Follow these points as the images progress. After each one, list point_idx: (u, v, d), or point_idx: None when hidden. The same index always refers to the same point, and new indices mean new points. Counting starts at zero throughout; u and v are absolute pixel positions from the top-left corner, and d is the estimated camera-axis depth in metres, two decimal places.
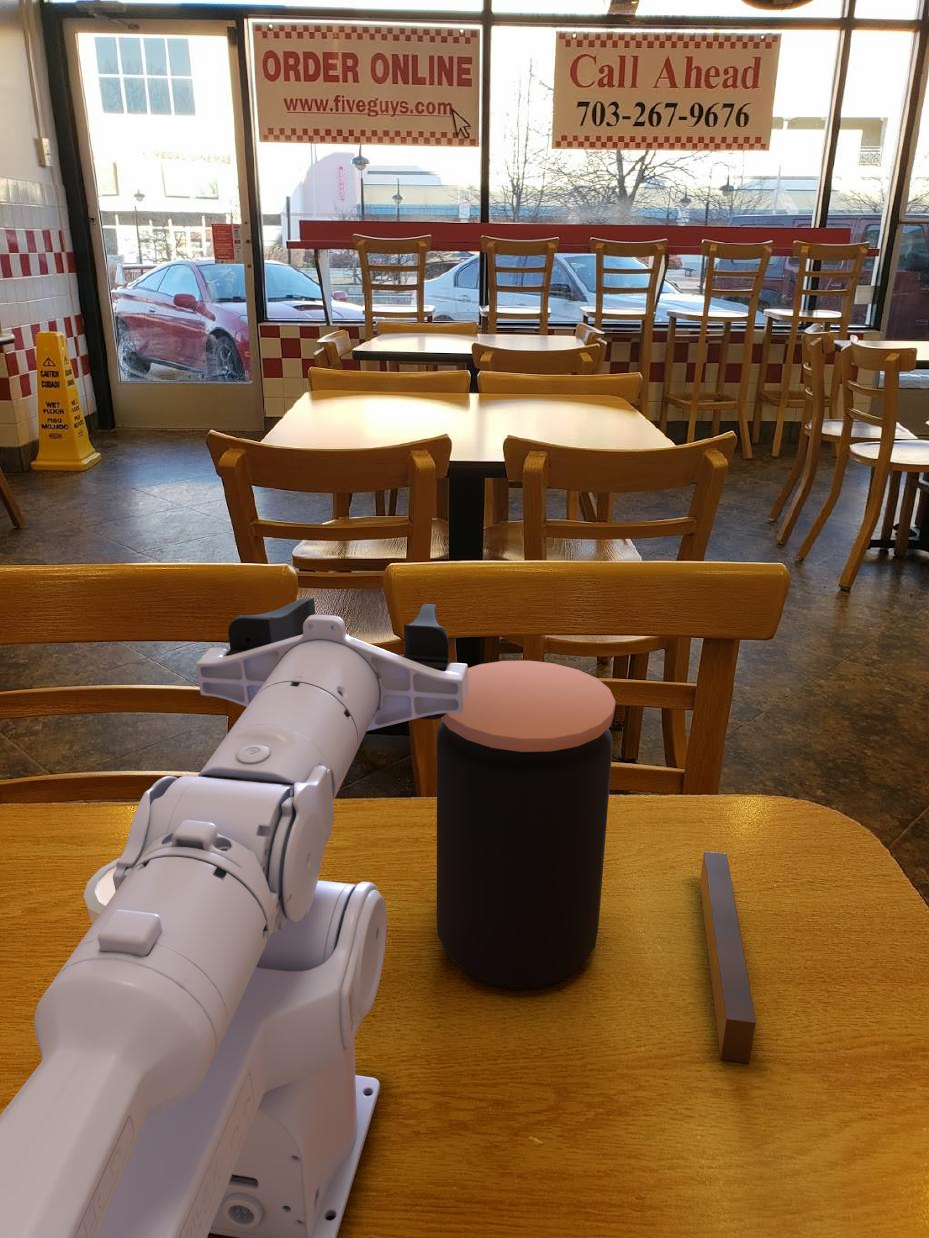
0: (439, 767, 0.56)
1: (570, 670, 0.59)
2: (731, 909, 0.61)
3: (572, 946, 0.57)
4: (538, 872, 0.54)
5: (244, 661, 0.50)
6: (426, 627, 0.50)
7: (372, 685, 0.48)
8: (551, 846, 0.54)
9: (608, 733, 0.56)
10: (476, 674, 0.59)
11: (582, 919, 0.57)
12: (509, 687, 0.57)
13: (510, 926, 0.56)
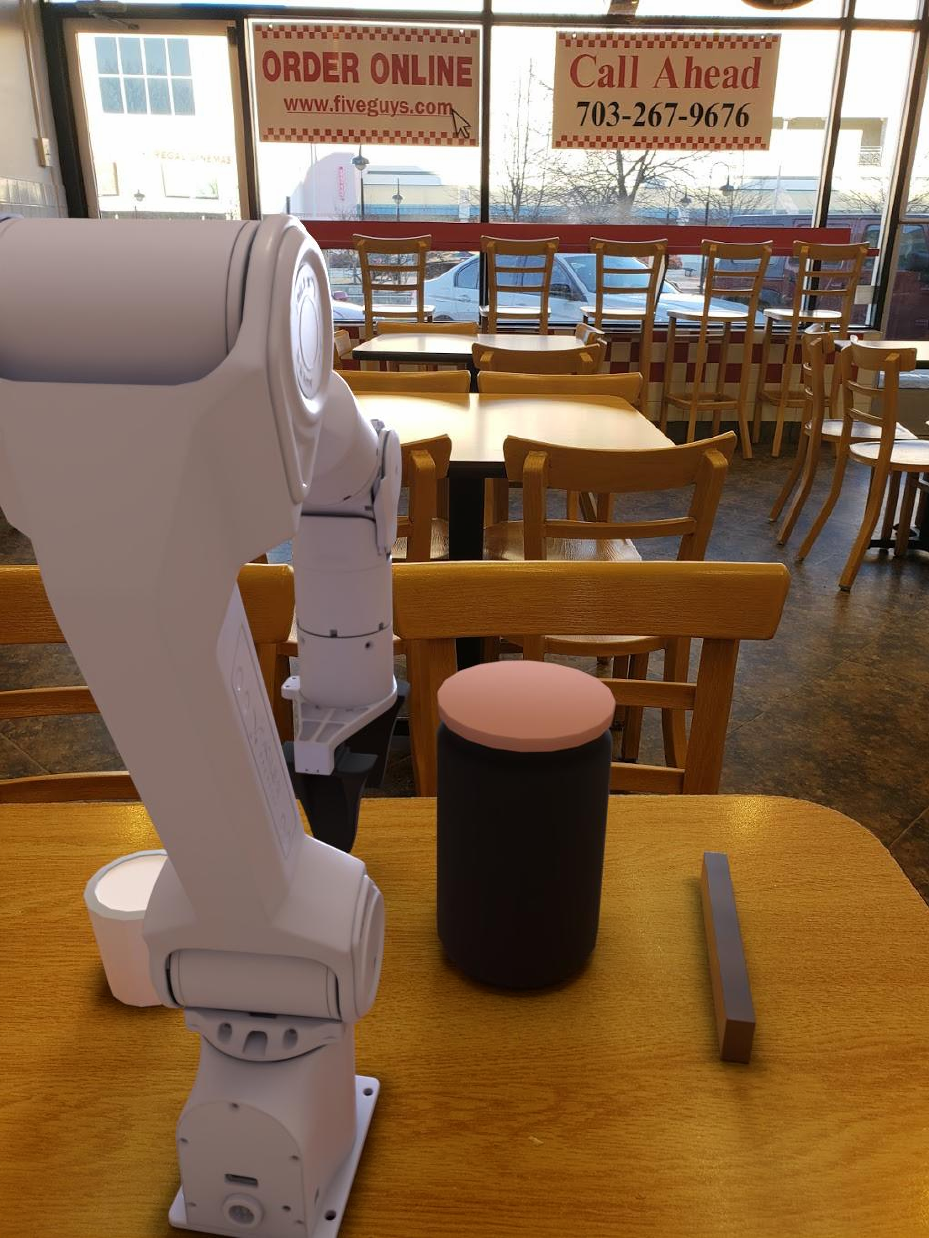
0: (439, 767, 0.56)
1: (570, 670, 0.59)
2: (731, 909, 0.61)
3: (572, 946, 0.57)
4: (538, 872, 0.54)
5: None
6: None
7: None
8: (551, 846, 0.54)
9: (608, 733, 0.56)
10: (476, 674, 0.59)
11: (582, 919, 0.57)
12: (509, 687, 0.57)
13: (510, 926, 0.56)
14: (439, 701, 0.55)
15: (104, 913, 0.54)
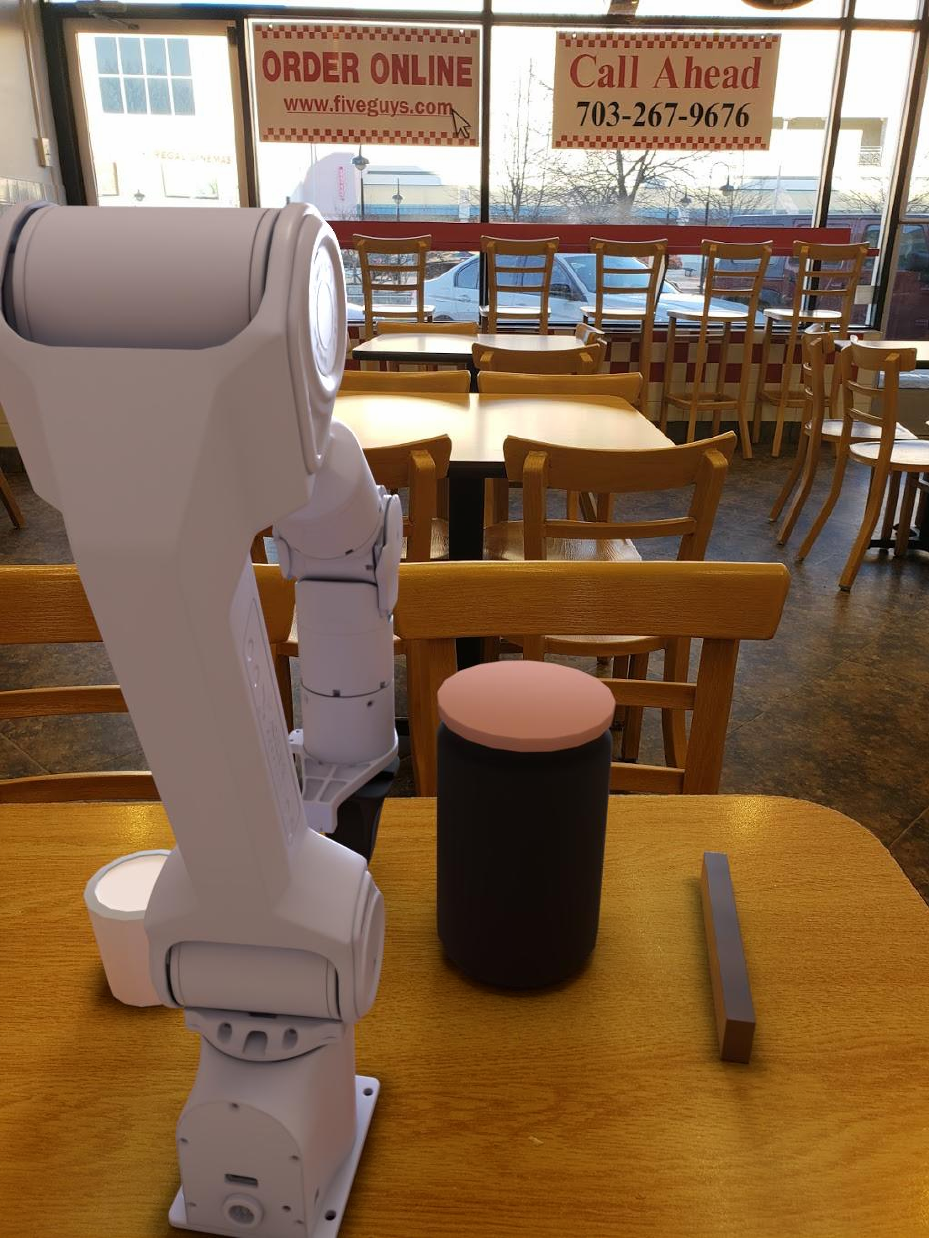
0: (439, 767, 0.56)
1: (570, 670, 0.59)
2: (731, 909, 0.61)
3: (572, 946, 0.57)
4: (538, 872, 0.54)
5: None
6: None
7: None
8: (551, 846, 0.54)
9: (608, 733, 0.56)
10: (476, 674, 0.59)
11: (582, 919, 0.57)
12: (509, 687, 0.57)
13: (510, 926, 0.56)
14: (439, 701, 0.55)
15: (104, 913, 0.54)
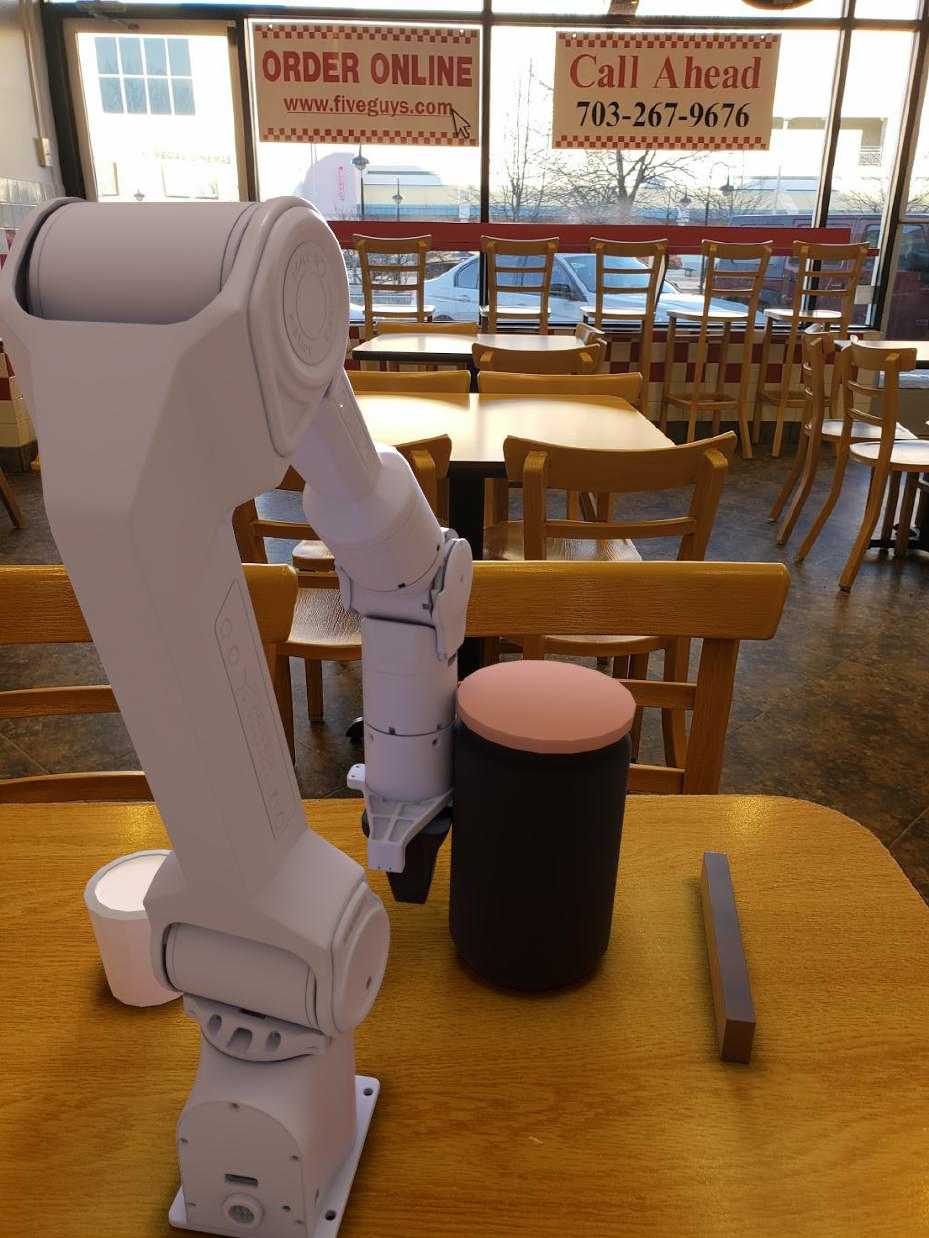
0: (457, 765, 0.56)
1: (590, 671, 0.59)
2: (731, 909, 0.61)
3: (584, 948, 0.57)
4: (554, 874, 0.54)
5: None
6: None
7: None
8: (568, 848, 0.54)
9: (627, 736, 0.56)
10: (496, 673, 0.58)
11: (596, 921, 0.57)
12: (529, 687, 0.57)
13: (524, 927, 0.55)
14: (459, 699, 0.55)
15: (104, 913, 0.54)
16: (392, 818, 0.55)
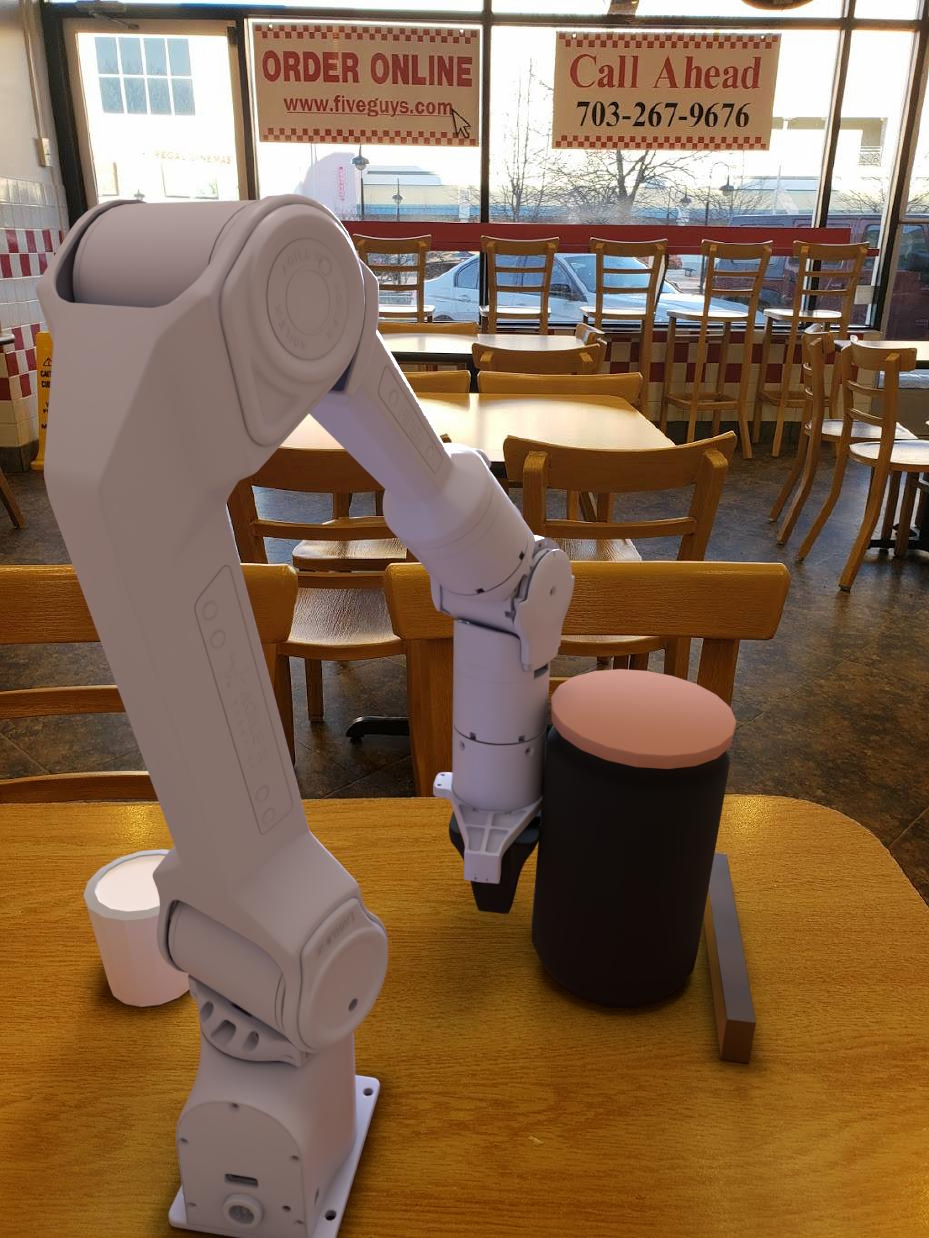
0: (548, 773, 0.55)
1: (689, 684, 0.57)
2: (731, 909, 0.61)
3: (670, 967, 0.56)
4: (643, 890, 0.53)
5: None
6: None
7: None
8: (659, 865, 0.52)
9: (726, 753, 0.54)
10: (591, 681, 0.57)
11: (683, 941, 0.55)
12: (625, 697, 0.55)
13: (609, 941, 0.54)
14: (553, 707, 0.54)
15: (104, 913, 0.54)
16: (486, 828, 0.54)
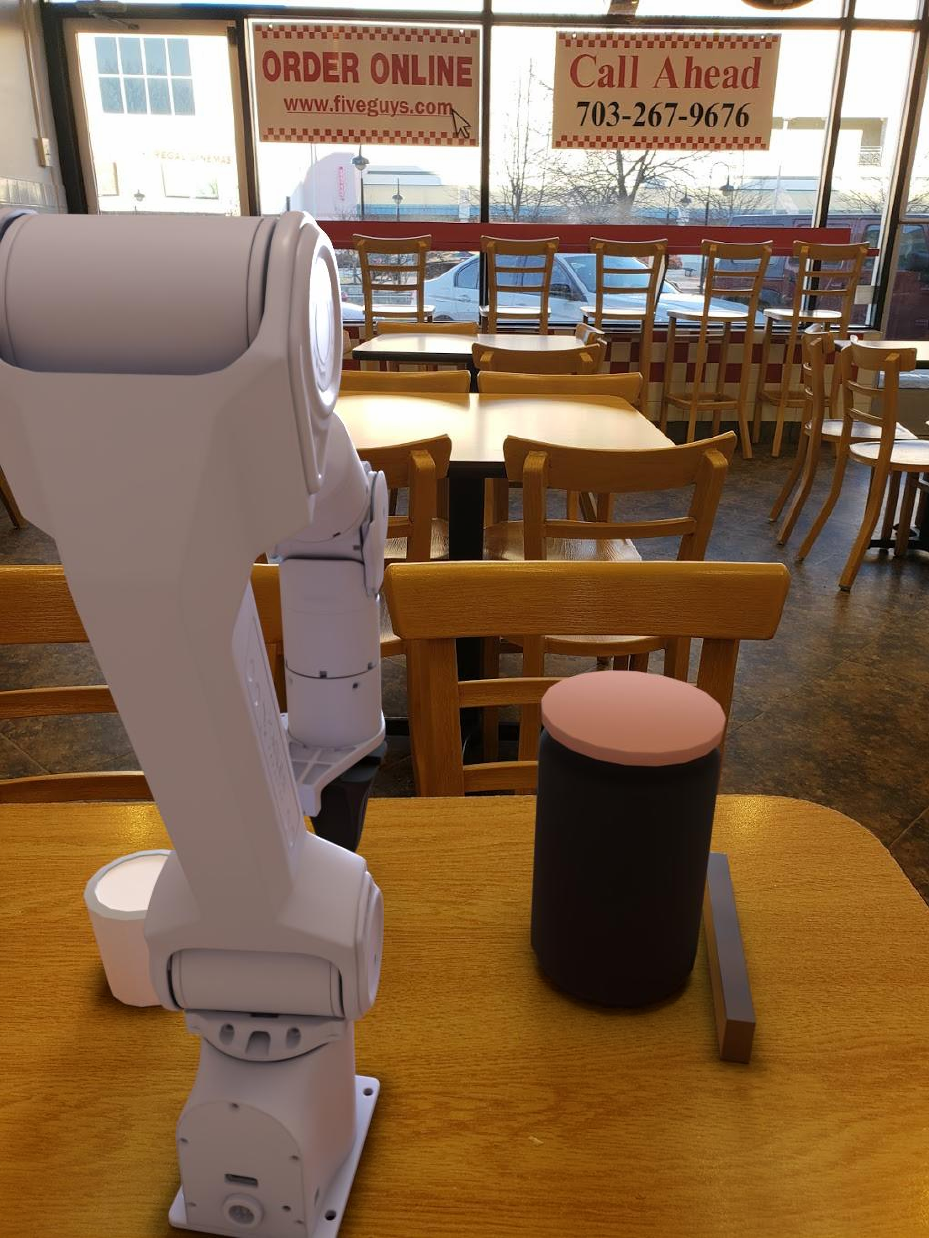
0: (540, 775, 0.55)
1: (678, 683, 0.58)
2: (731, 909, 0.61)
3: (669, 967, 0.56)
4: (638, 889, 0.53)
5: None
6: None
7: None
8: (653, 863, 0.52)
9: (716, 750, 0.54)
10: (581, 683, 0.58)
11: (681, 940, 0.56)
12: (615, 697, 0.56)
13: (606, 942, 0.54)
14: (543, 708, 0.54)
15: (104, 913, 0.54)
16: (309, 763, 0.54)
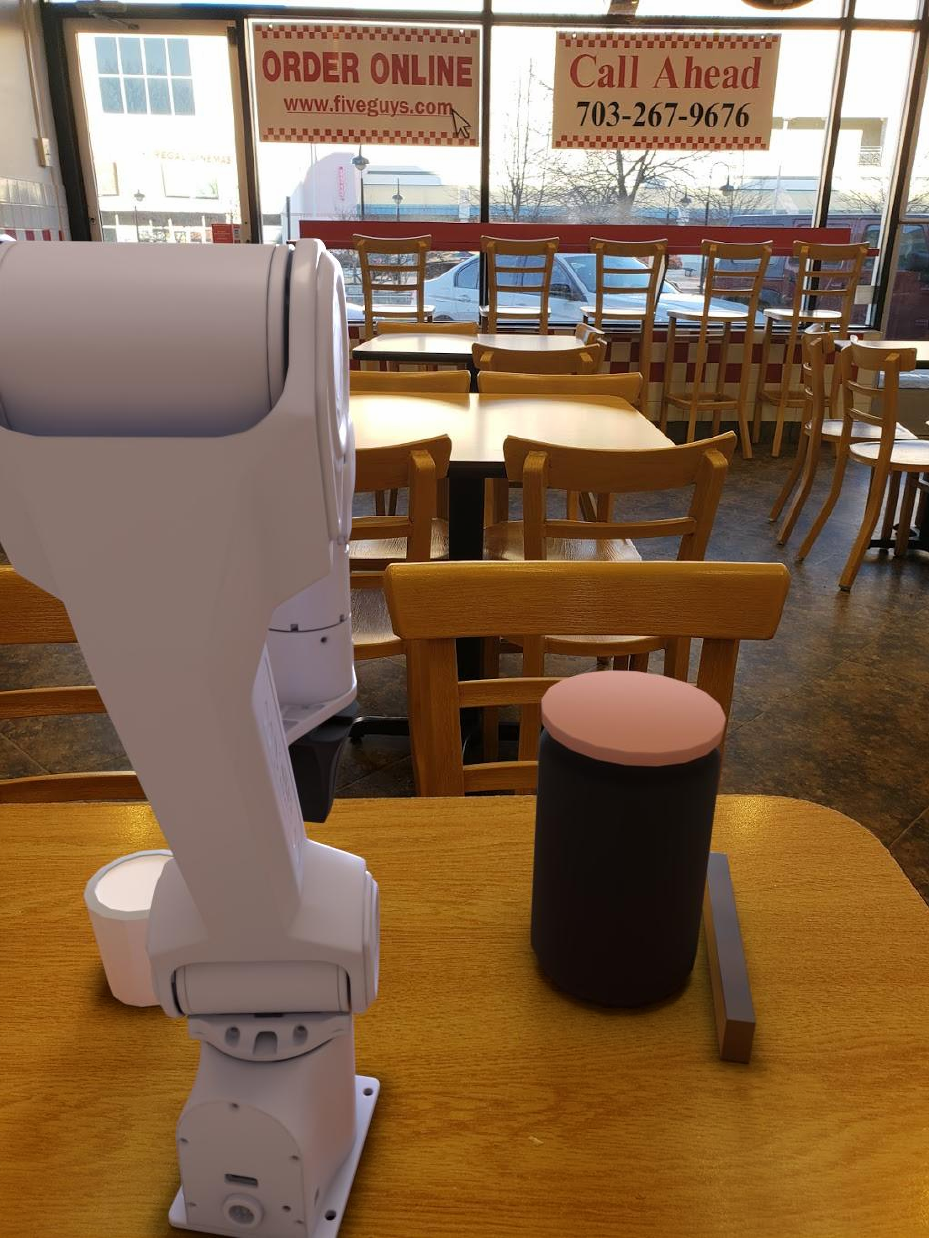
0: (540, 775, 0.55)
1: (679, 683, 0.58)
2: (731, 909, 0.61)
3: (669, 967, 0.56)
4: (638, 889, 0.53)
5: None
6: None
7: None
8: (653, 864, 0.52)
9: (716, 750, 0.54)
10: (581, 683, 0.58)
11: (681, 940, 0.56)
12: (615, 697, 0.56)
13: (606, 942, 0.54)
14: (543, 709, 0.54)
15: (104, 913, 0.54)
16: None
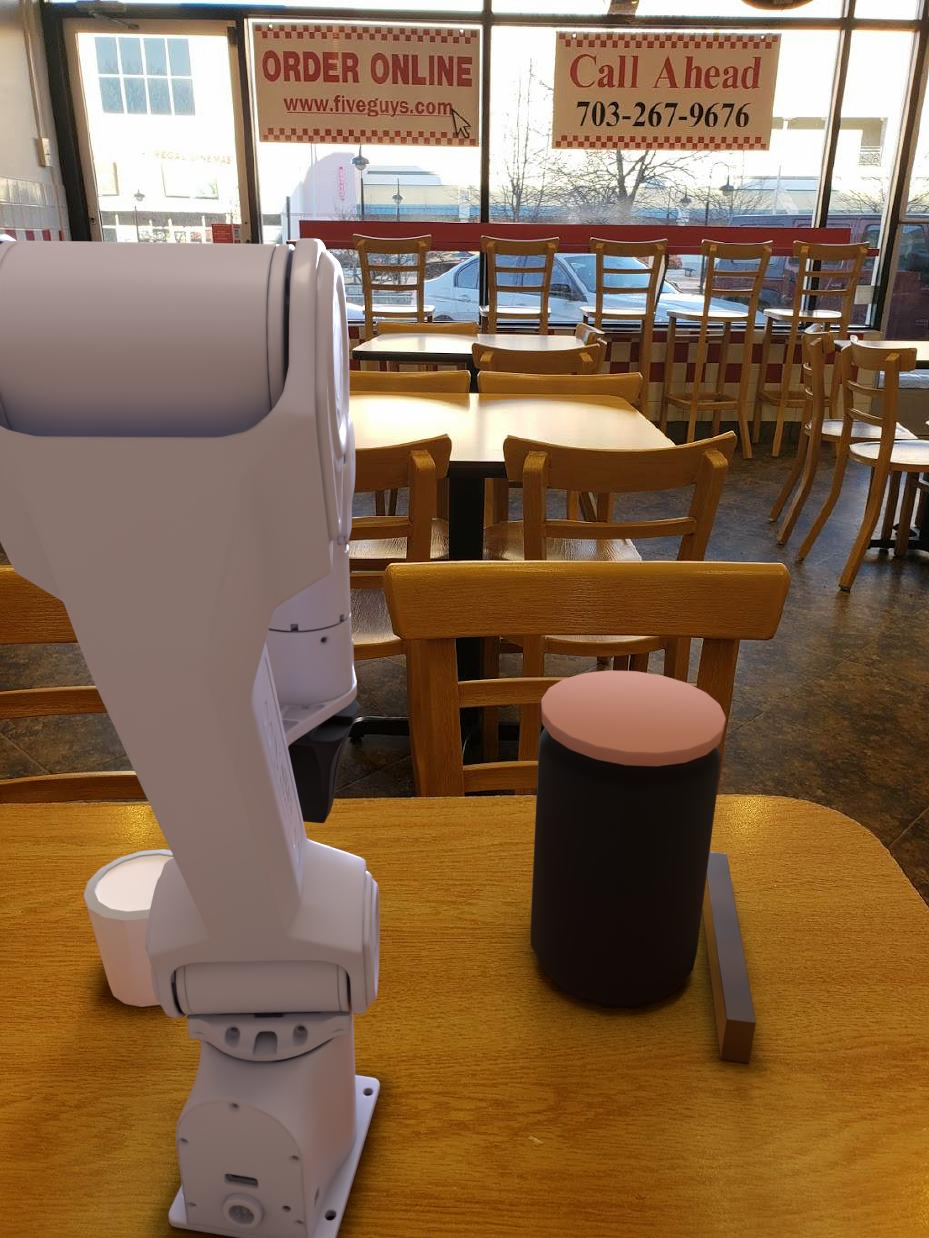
0: (540, 775, 0.55)
1: (678, 683, 0.58)
2: (731, 909, 0.61)
3: (669, 967, 0.56)
4: (638, 889, 0.53)
5: None
6: None
7: None
8: (653, 864, 0.52)
9: (716, 750, 0.54)
10: (581, 683, 0.58)
11: (681, 940, 0.56)
12: (615, 697, 0.56)
13: (606, 942, 0.54)
14: (543, 709, 0.54)
15: (104, 913, 0.54)
16: None
